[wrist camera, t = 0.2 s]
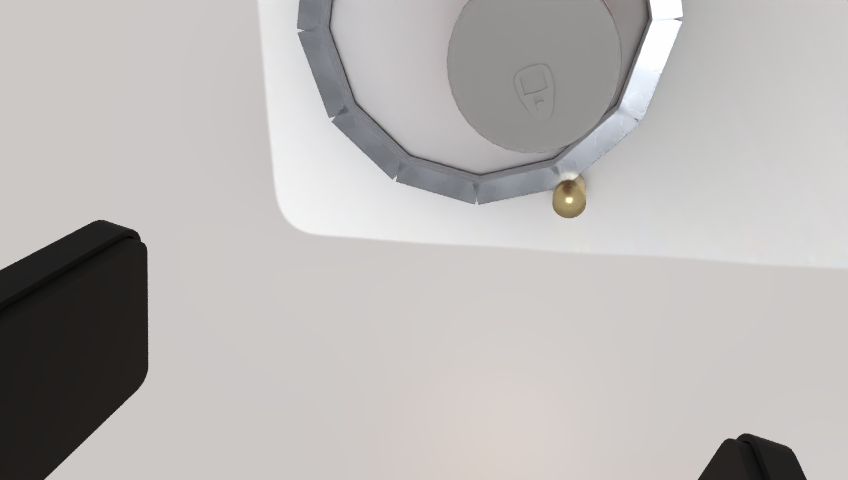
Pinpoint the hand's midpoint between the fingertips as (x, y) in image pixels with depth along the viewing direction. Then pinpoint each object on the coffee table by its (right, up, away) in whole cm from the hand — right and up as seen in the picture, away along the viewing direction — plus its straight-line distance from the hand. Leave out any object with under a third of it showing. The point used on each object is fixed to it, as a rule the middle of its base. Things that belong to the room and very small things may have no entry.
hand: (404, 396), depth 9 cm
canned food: (+8, +15, +26) cm, 31 cm away
